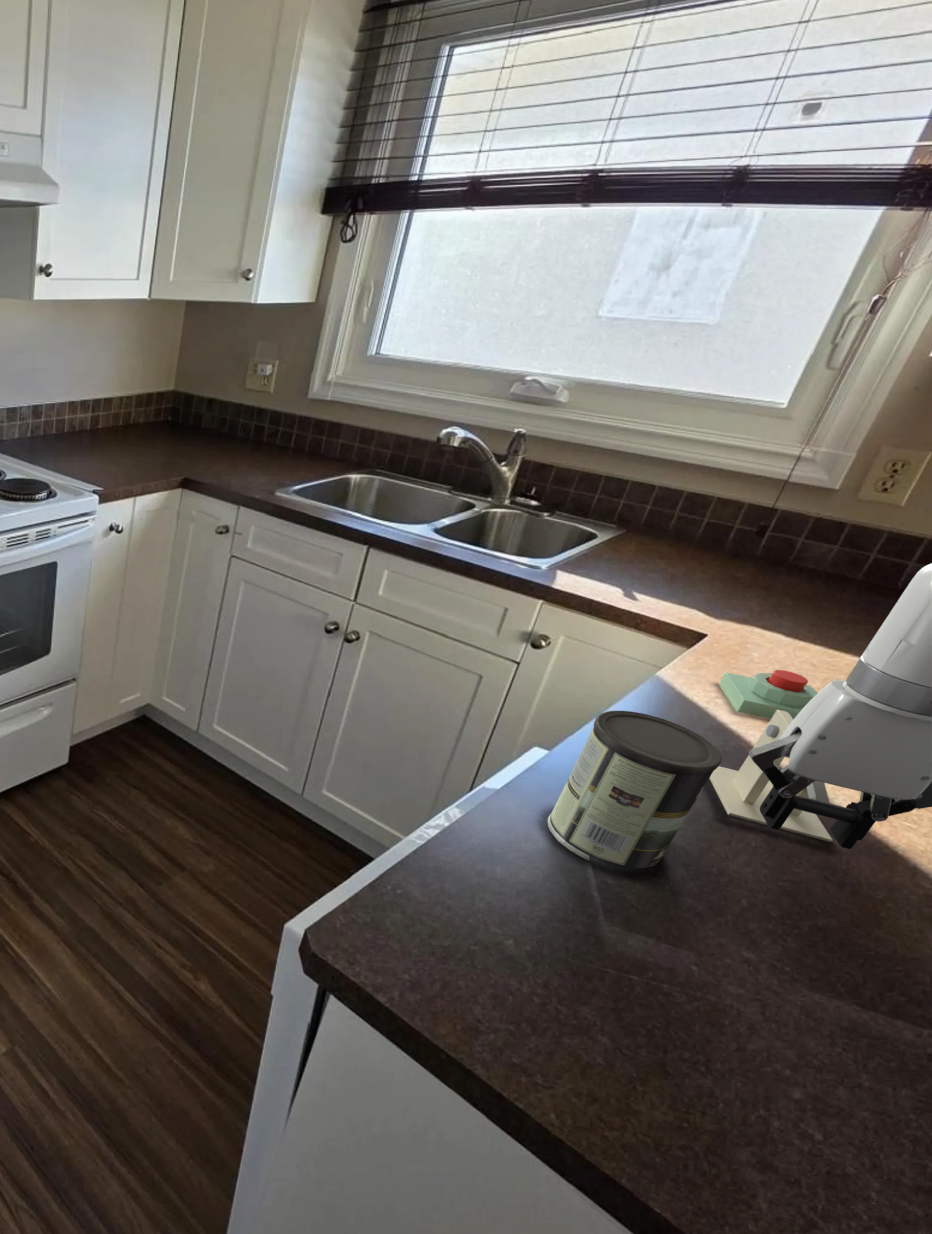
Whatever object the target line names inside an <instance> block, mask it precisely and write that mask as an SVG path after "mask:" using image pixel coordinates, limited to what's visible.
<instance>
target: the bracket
mask: <svg viewBox="0 0 932 1234" xmlns="http://www.w3.org/2000/svg"><path fill="white" fill-rule="evenodd" d="M792 721H793V718H792V717H791V716H790V714H789V713H788V712H786V711H781V710H777V711H776V712H775V714H774V715H773V717H772V719H769V722H768V724H767V725H766V726H765V728H764V730H763V731H762V733H761V735H760V736H759V738H758V739H757V741H756V742H755V744H754V745H753V747H752V749H754V748H757V747H760V746H763V745H766V744H768V743H771V742H774V741H777V740H779V738H780V737H781V735H782V734H783V733H784V731H785V730H786V729H787V727H788V726H789V725H790V723H791V722H792ZM785 758H786V757H785V756H784V757H781V758H778V759H776V760H774V763H775V764H776V765H777V766H778V767H779V766H780V765H781V763H782V762H783V761H784V759H785ZM709 780H710V783H711V784H712V786H713V788H714V790H715V792H716V794H717V797H718V798H719V800H720V802H721V804H722V805H723V808H724V810H725V812H726V814H727V815H728V816H731V817H735V818H738V819H741V820H746V821H749V822H753V823H757V824H759V825H760V824H761V825H764V826H768V824H767V823H766V821H765V819H764V817H763V816H762V814H761V812H760V806H761V804H762V803H763V801H764V800H765V798H766V797H767V795H768V794H769V792H770V791H771V789H772V788H773V785H772V783H771V782H770V780H769V779H768V777H767V776H766V775H765V773H764V772H763V771H762V770H761V769H760V768H759V767H758V766H757V765H756V764H755V763H754V762H753V760H752V759H751V757H750V755H749V754H748V755H747V757H746V759H745V760H744V761H743V763H742V765H741V767H740V768H739V769H738V770H735V769H732V768H728V767H723V766H720V765H719V766H718V767H717V769H715V770H714V771H713V773H712V775H711V776H710V778H709ZM797 796H801V797H805V798H809V796H808V792H807V787H806V788H805V789H803V790H802V791H801V792H799V793H798V794H797ZM779 830H783V831H787V832H791V833H795V834H798V835H802V836H806V837H809V838H813V839H818V840H820V841H824V842H828V843H832V842H833V840H834V839H833V837H831V835H830V834H829V832H828V831H827V829H826V827H825V825H824V824H823V823H822V821H821V819H820V818H819V816H818V815H817V814H813V813H809V812H805V811H801V810H798V809H793V811H792V812H791V814H790V815H789V817H788V818H787V819H786V821H785V822H784V824H783V825H782V827H781V828H780V829H779Z"/></svg>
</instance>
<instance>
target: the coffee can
mask: <svg viewBox="0 0 932 1234" xmlns="http://www.w3.org/2000/svg"><path fill="white" fill-rule="evenodd" d="M722 760H723V757H722V754H721V752H720V751H719V749H717V747H716V746H715V745H714V744H712V742H710V741H709V740H707V739H706V738H704V737H703V736H701V734H698V733H697V732H694V731H693V730H691V729H689V728H687V727H685V726H682V725H680V724H678V723H675V722H672V721H671V720H667V719H666V718H665V719H664V718H661V717H658V716H654V715H651V714H647V713H642V712H637V711H630V710H607V711H603V712H601V713H599V714H598V715H597V716H596V718H595V719H594V721H593V727H592V729H591V731H590V733H589V736H588V738H587V739H586V741H585V744H584V746H583V748H582V750H581V752H580V754H579V756H578V757H577V760H576V761H575V764H574V766H573V768H572V770H571V773H570V774H569V777H568V779H567V780H566V783H565V785H564V787H563V788H562V791H561V793H560V795H559V797H558V799H557V801H556V803H555V805H554V807H553V809H552V810H551V813H550V814H549V816H548V817H547V827H548V830H549V832H551V834H552V836H553V837H554V838H555V839H556V840H557V841H558V842H559V843H560V844H561V845H562V846H563V847H565V848H566V849H567V850H568V851H570V852H572V853H573V854H575V855H576V856H577V857H580V858H582V859H584V860H586V861H588V862H591V858H590V856H591V857H593V858H597V859H599V860H601V861H604V862H606V863H610V864H612V865H615V866H619V867H620V866H621V867H624V868H625V867H627V868H632V869H633V868H634V869H645V868H651V867H654V866H656V865H657V864H658V863H660V862H661V860H662V858H663V857H664V855H665V853H666V852H667V850H668V849H669V846H670V845H671V843H672V841H673V840H674V838H675V836H676V835H677V833H678V831H679V830H680V827H681V826H682V824H683V823H684V821H685V819H686V818H687V816H688V814H689V812H690V811H691V809H692V808H693V806H694V804H695V803H696V801H697V800H698V798H699V796H700V795H701V793H702V791H703V789H704V788H705V786H706V784H707V783H708V781H709V780H710V776H711V775H712V773H713V771H714V770H715V769H717V767H718V766H720V765H721V764H722V762H723V761H722Z"/></svg>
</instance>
